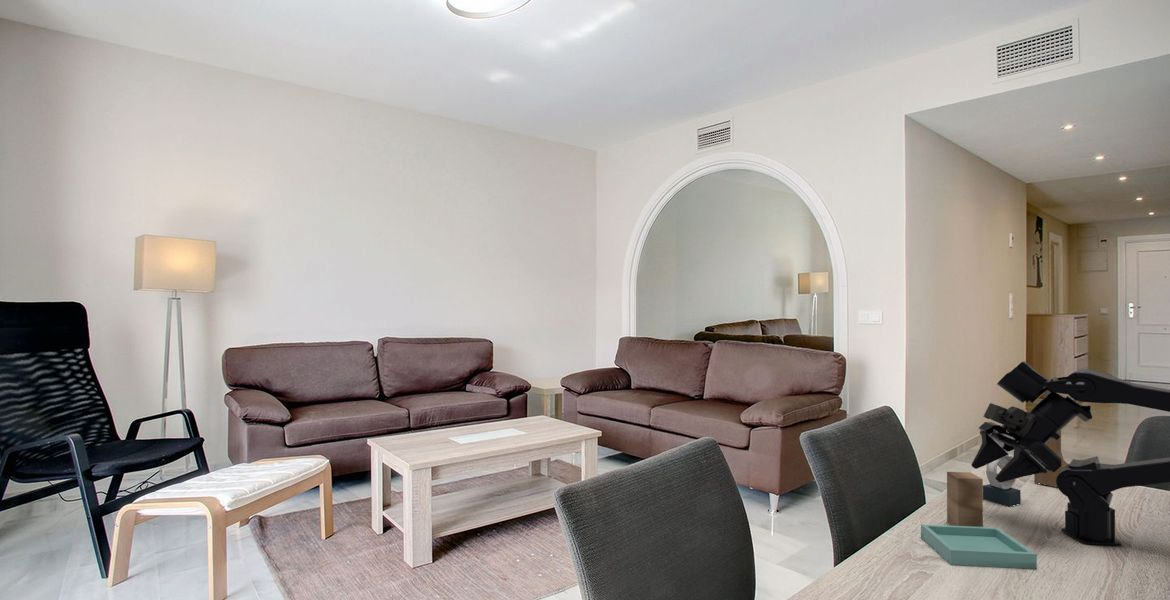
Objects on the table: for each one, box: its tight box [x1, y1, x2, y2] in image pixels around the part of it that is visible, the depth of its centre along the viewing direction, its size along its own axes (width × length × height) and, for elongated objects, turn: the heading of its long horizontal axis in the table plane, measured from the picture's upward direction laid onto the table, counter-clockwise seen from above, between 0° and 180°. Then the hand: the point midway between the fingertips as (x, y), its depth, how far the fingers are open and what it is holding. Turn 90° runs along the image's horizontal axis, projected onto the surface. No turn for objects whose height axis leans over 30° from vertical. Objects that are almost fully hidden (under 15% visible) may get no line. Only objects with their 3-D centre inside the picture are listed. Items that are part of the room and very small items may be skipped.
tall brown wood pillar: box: [946, 471, 984, 527], centre depth 117 cm, size 4×4×10 cm
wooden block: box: [1033, 429, 1069, 488], centre depth 142 cm, size 9×4×18 cm, turn 39°
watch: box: [983, 453, 1022, 508], centre depth 131 cm, size 6×8×11 cm
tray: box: [920, 523, 1038, 570], centre depth 105 cm, size 14×12×2 cm
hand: (984, 473), depth 116 cm, fingers open, 9 cm apart
